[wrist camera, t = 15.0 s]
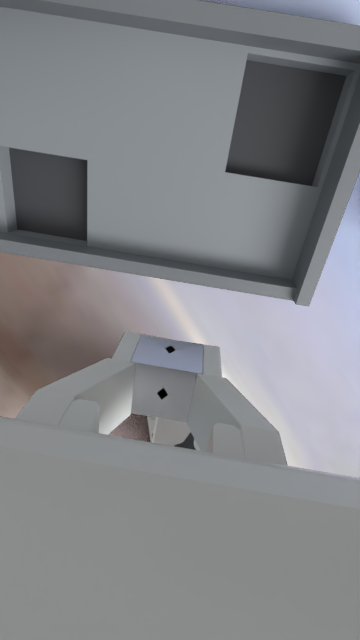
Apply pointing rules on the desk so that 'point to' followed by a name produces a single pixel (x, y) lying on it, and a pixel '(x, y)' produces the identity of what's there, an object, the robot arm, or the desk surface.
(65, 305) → the desk surface
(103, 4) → the tray
